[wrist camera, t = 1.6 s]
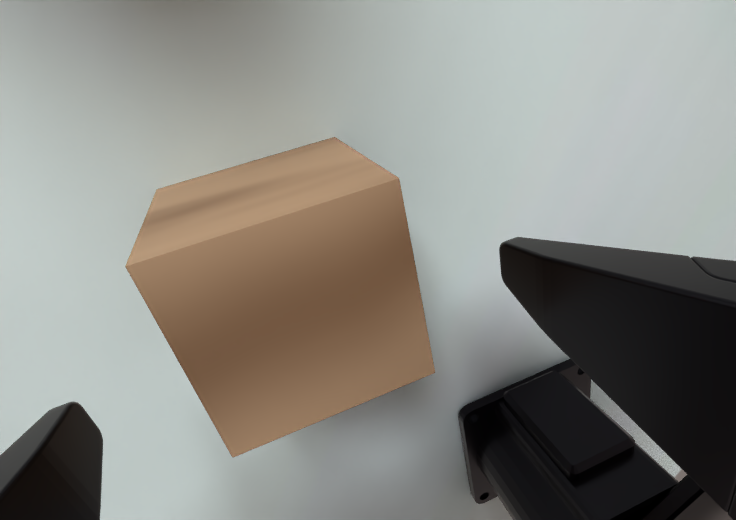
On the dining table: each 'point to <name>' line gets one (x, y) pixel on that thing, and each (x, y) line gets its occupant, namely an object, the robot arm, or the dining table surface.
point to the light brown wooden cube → (285, 289)
